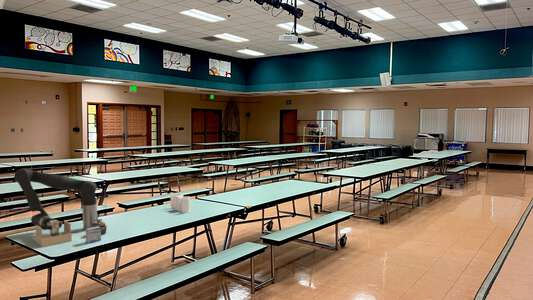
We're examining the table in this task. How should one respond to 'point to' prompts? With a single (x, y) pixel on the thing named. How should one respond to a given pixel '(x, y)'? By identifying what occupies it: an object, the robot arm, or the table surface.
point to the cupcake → (100, 225)
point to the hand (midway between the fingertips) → (55, 227)
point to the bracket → (180, 203)
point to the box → (54, 228)
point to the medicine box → (93, 234)
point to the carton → (49, 240)
